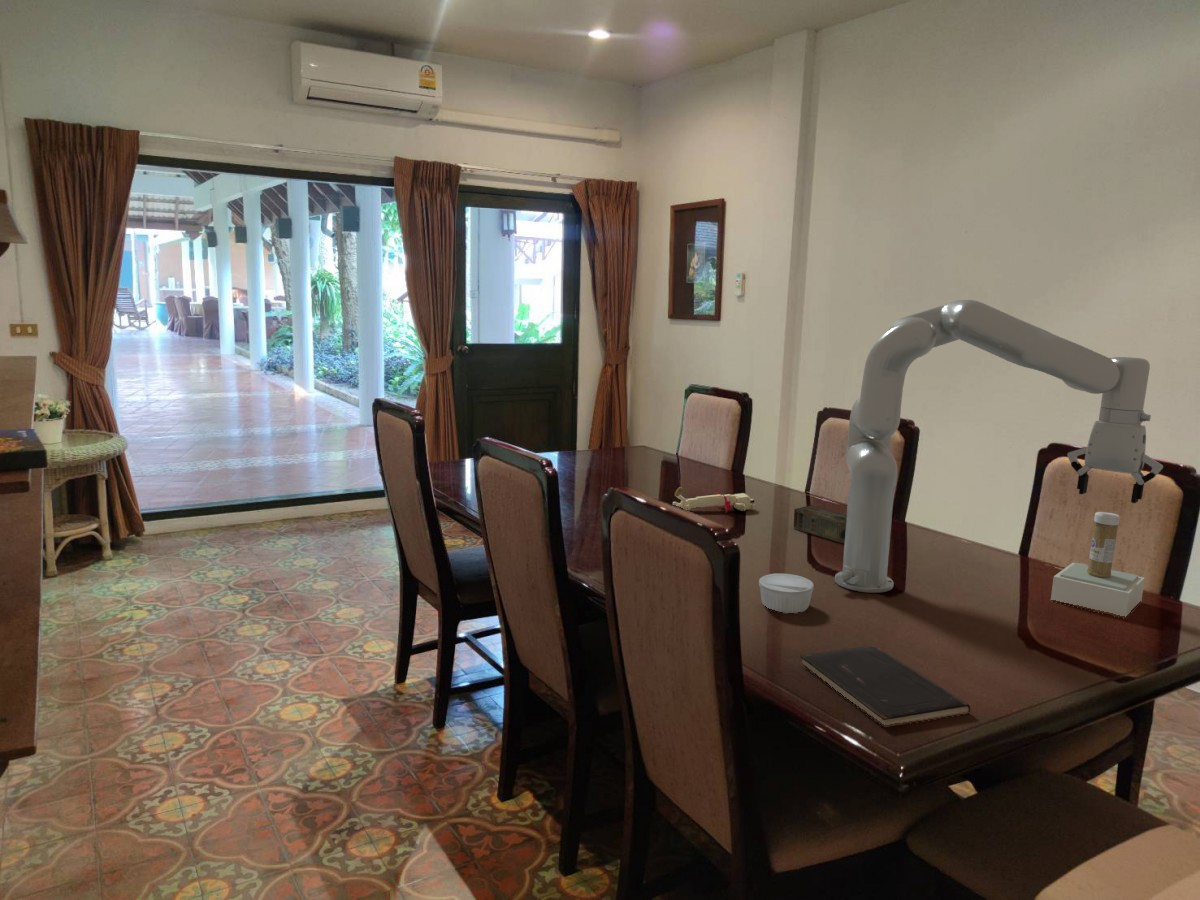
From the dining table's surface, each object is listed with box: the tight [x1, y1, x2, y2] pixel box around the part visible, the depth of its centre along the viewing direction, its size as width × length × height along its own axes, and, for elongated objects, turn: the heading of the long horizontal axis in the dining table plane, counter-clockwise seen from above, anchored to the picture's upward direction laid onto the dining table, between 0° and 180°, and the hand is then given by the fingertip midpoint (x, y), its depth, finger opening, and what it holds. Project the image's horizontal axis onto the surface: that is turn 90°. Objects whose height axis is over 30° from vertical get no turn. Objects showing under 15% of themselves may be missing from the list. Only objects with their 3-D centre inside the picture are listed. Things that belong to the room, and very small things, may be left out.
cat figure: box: [672, 486, 756, 513], centre depth 249 cm, size 10×9×25 cm
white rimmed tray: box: [1050, 562, 1145, 617], centre depth 178 cm, size 14×14×6 cm
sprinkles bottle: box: [1087, 511, 1121, 577], centre depth 176 cm, size 5×5×14 cm
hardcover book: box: [799, 644, 971, 725], centre depth 136 cm, size 16×23×2 cm
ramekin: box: [758, 572, 815, 614], centre depth 172 cm, size 11×11×5 cm
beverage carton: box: [793, 504, 847, 545], centre depth 225 cm, size 8×19×7 cm, turn 37°
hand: (1108, 497), depth 175 cm, fingers open, 9 cm apart
